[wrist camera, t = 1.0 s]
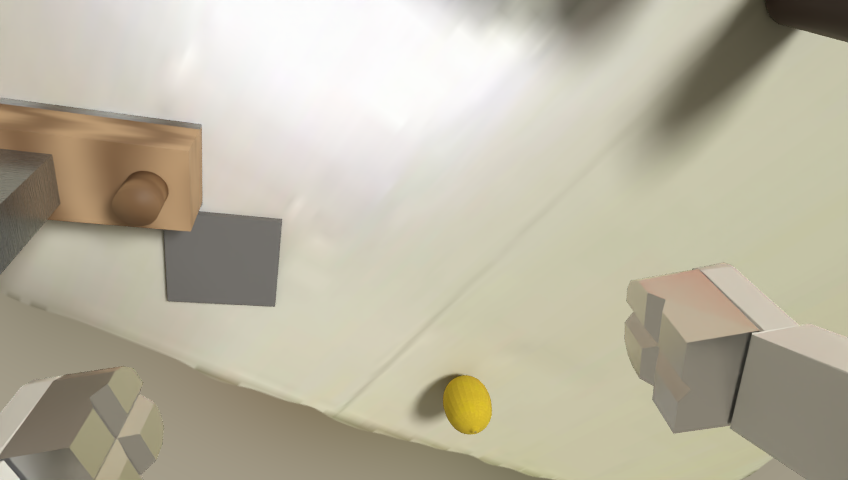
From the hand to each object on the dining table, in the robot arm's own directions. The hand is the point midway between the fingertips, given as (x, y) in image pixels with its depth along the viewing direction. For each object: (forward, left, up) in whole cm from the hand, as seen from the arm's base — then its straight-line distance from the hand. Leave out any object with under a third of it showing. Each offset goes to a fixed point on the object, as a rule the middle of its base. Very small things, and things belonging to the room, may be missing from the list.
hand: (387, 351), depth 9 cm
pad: (+10, -24, -37) cm, 45 cm away
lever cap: (-6, -25, -32) cm, 41 cm away
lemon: (+41, -18, -37) cm, 58 cm away
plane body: (-6, -25, -37) cm, 45 cm away
